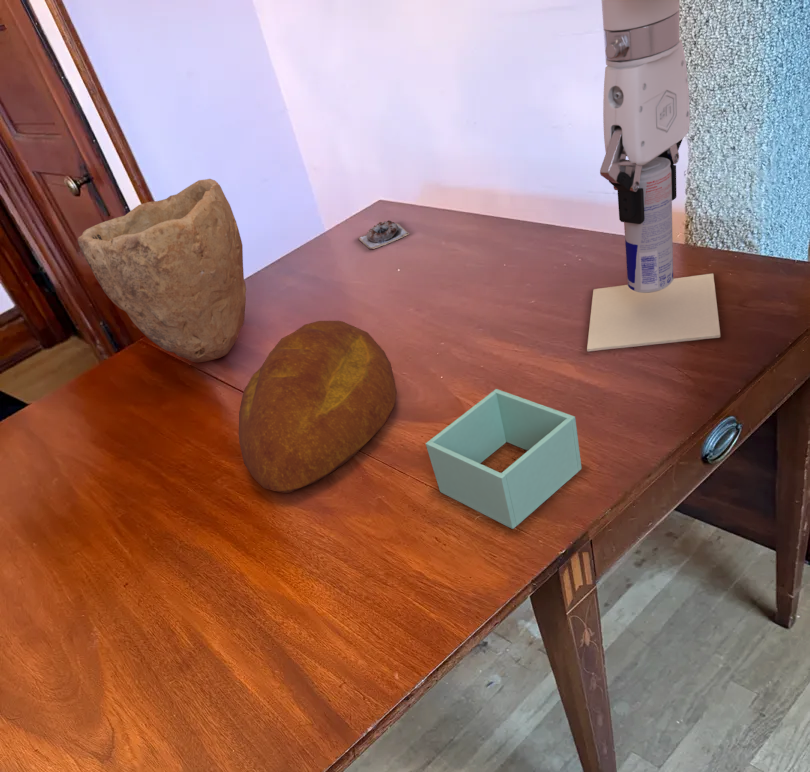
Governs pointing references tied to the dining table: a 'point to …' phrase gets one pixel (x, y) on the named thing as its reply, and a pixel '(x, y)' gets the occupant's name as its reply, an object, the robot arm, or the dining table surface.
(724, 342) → the dining table surface
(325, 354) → the bread
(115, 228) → the bowl
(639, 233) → the beverage can
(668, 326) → the mat
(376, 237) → the rusty domed plate
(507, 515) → the open square box
